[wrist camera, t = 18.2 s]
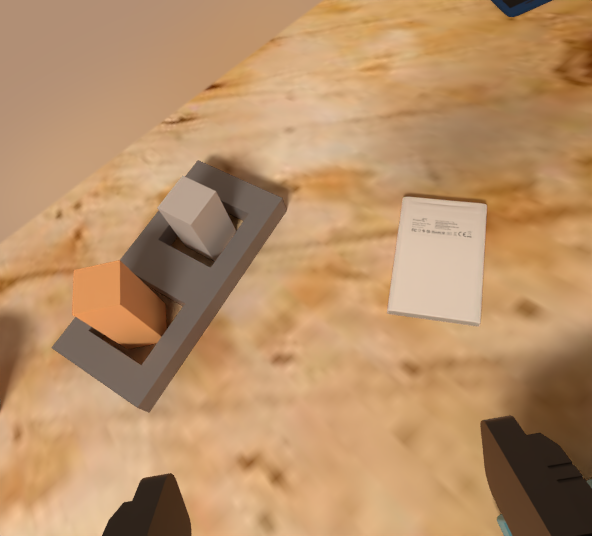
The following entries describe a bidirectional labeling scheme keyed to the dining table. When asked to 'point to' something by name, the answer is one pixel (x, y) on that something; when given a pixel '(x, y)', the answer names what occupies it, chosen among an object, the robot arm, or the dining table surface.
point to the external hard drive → (439, 261)
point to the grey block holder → (181, 276)
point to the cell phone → (518, 6)
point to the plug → (118, 305)
